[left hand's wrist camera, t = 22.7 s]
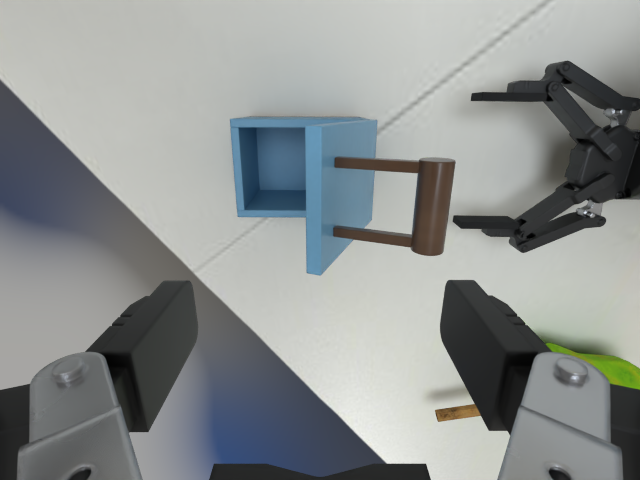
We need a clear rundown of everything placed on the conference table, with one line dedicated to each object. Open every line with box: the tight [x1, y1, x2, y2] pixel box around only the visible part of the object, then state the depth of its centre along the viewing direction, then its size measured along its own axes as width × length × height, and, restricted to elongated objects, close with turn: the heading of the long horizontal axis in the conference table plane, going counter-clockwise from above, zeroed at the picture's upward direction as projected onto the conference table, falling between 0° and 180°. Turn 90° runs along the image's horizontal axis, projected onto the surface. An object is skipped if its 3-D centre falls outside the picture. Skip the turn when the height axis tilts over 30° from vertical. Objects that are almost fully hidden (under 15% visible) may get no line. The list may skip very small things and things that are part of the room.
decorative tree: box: [435, 343, 640, 422], centre depth 53 cm, size 18×10×30 cm
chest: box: [230, 117, 370, 217], centre depth 40 cm, size 14×10×11 cm
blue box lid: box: [305, 120, 455, 275], centre depth 27 cm, size 14×10×9 cm
